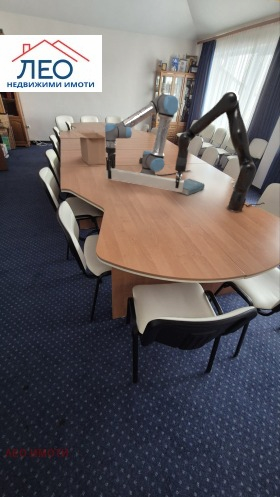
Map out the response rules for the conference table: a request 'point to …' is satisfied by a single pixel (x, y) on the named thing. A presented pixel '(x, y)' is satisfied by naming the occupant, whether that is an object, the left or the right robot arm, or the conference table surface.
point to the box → (92, 146)
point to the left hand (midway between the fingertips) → (111, 177)
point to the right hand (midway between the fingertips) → (177, 186)
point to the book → (191, 186)
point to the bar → (145, 179)
